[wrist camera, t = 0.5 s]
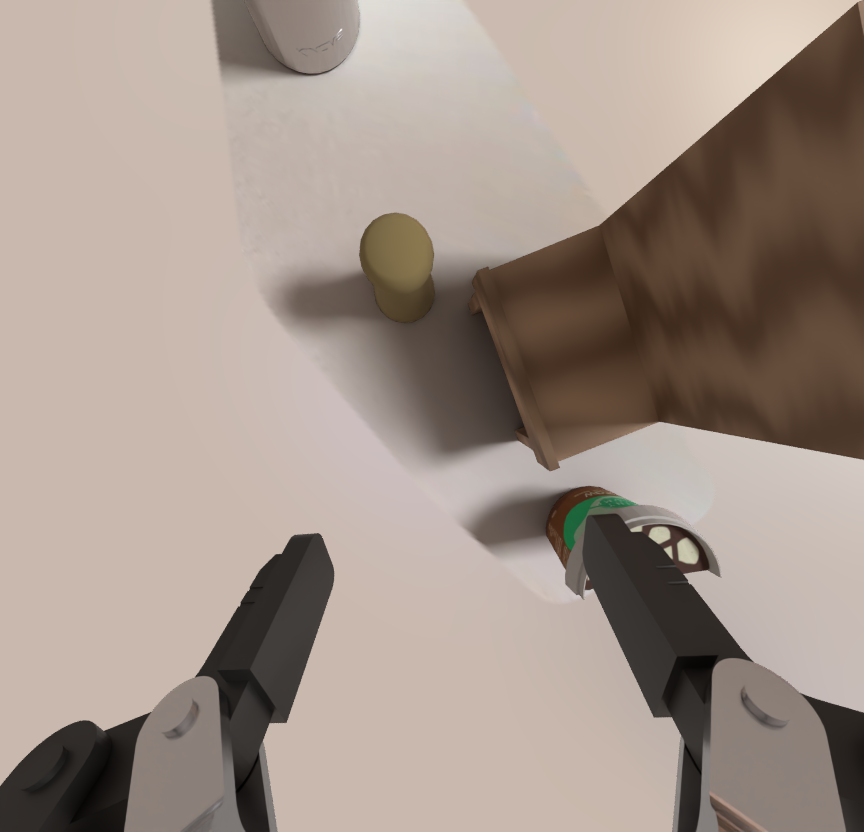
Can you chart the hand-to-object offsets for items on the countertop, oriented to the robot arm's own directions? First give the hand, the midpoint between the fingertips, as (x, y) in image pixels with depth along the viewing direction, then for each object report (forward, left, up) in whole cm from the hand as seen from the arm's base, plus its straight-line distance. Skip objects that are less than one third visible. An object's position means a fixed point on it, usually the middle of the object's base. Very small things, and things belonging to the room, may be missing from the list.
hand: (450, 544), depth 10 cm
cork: (-14, +3, -24) cm, 28 cm away
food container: (+14, +13, -24) cm, 31 cm away
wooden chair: (-3, +13, -24) cm, 27 cm away
